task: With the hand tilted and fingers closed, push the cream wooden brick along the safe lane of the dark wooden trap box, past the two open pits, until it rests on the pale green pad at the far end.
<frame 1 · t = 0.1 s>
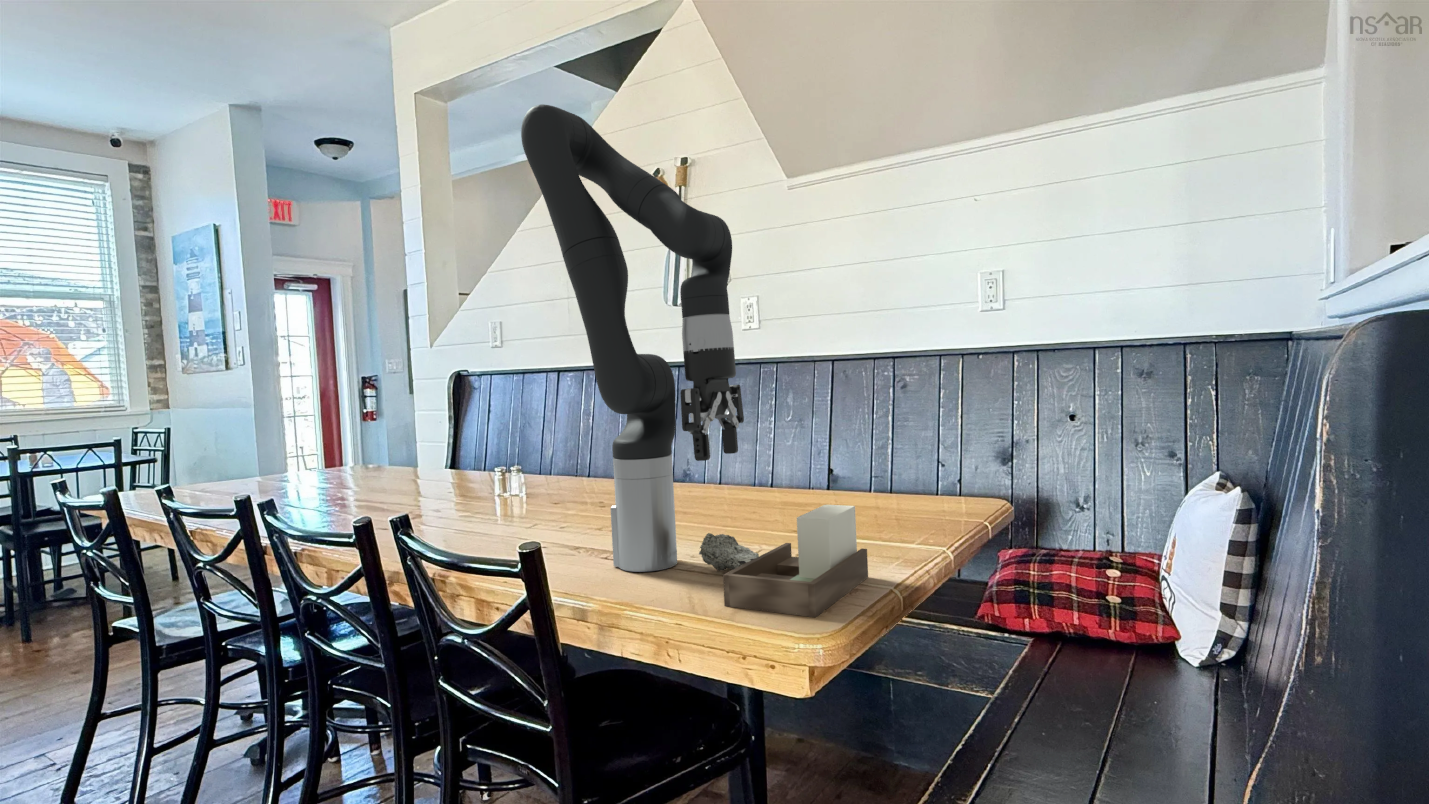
hand: (717, 456, 114), 17 cm above the table, tool pointing down, fingers open, 8 cm apart
rock sample: (738, 570, 117), on the table
brick: (829, 569, 106), point 2 cm above the table, touching trap box
trap box: (799, 590, 103), on the table
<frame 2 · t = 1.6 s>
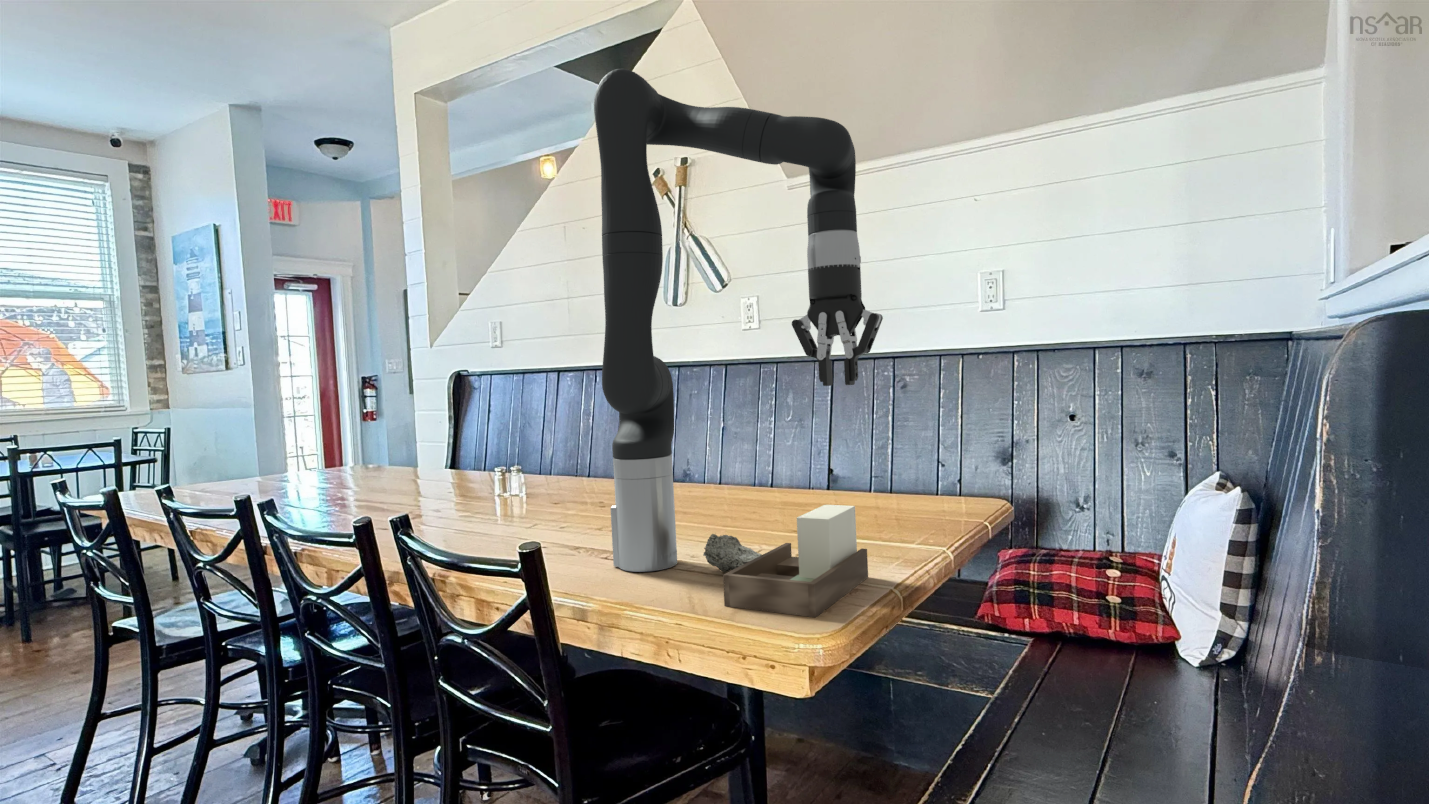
hand: (839, 384, 112), 27 cm above the table, tool pointing down, fingers open, 3 cm apart
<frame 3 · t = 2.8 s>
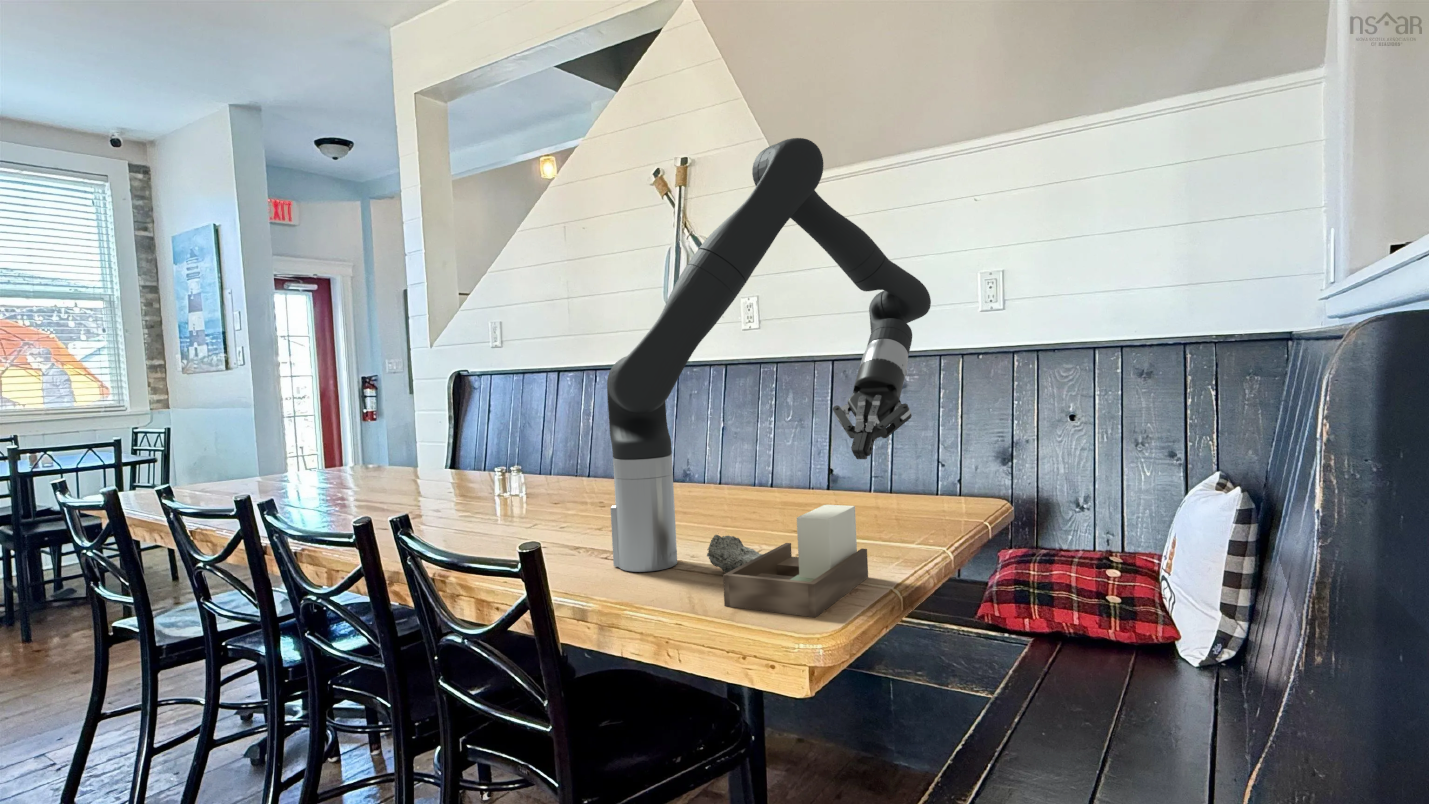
hand: (860, 456, 117), 16 cm above the table, tool tilted 45°, fingers closed
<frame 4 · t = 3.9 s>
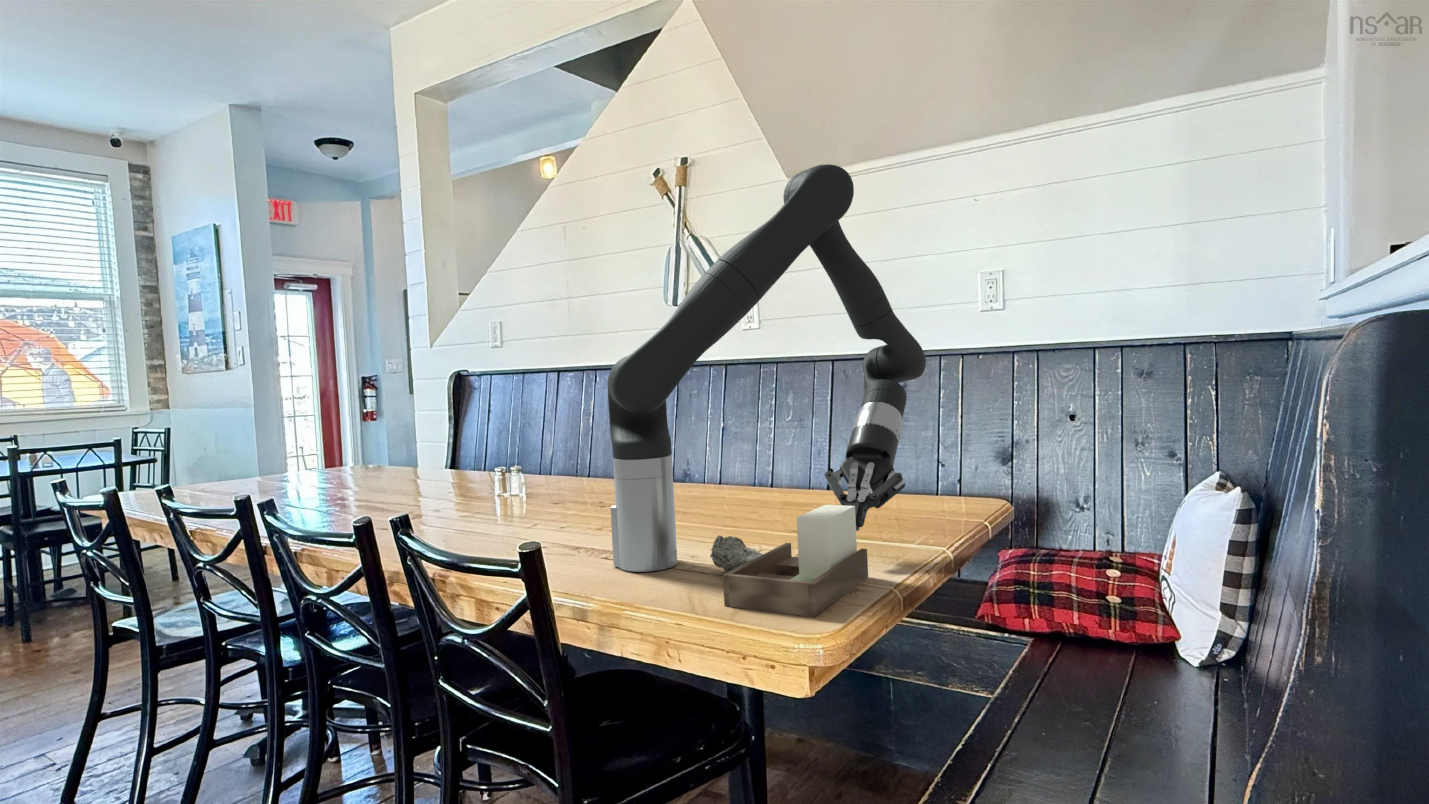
hand: (852, 527, 114), 6 cm above the table, tool tilted 45°, fingers closed
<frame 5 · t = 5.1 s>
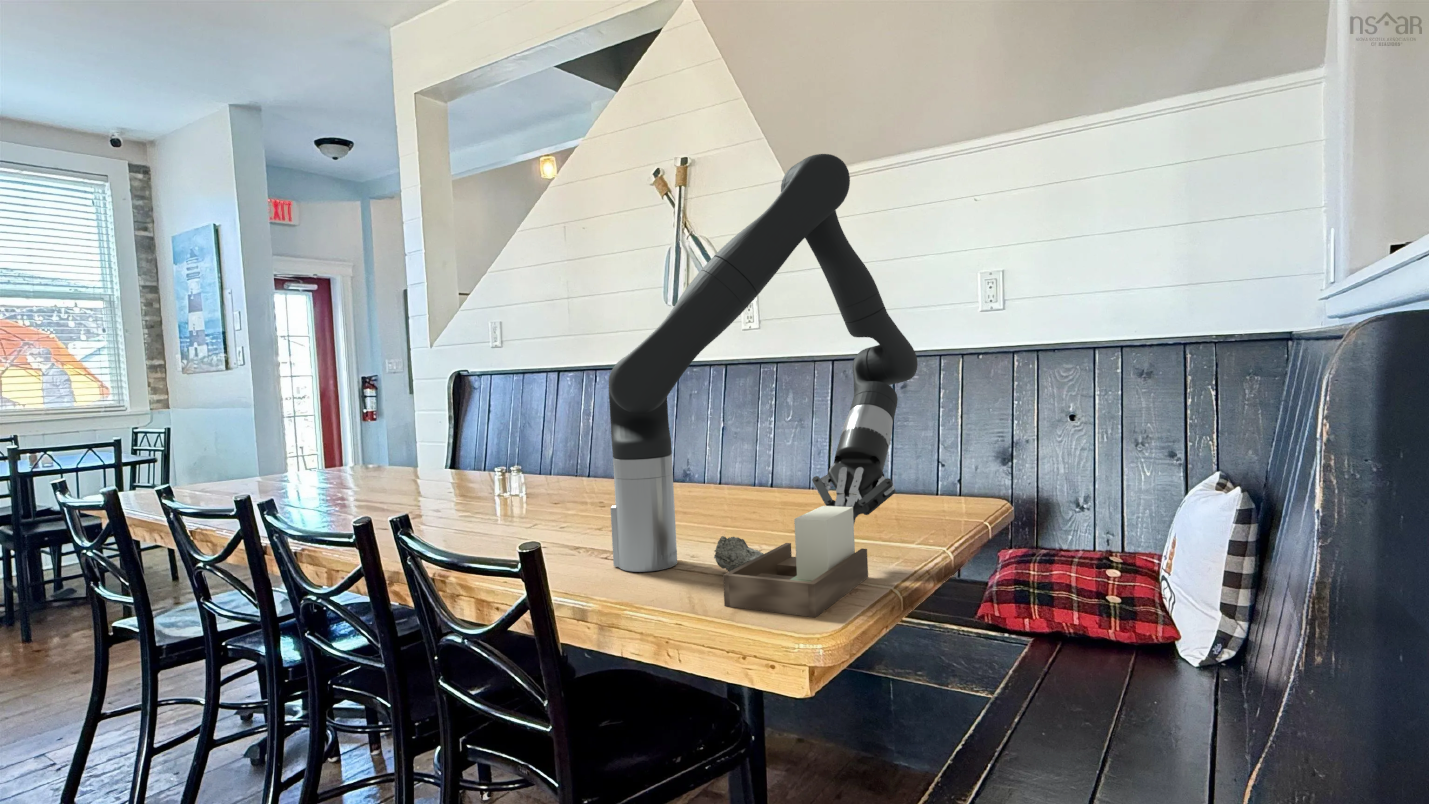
hand: (840, 535, 110), 6 cm above the table, tool tilted 45°, fingers closed
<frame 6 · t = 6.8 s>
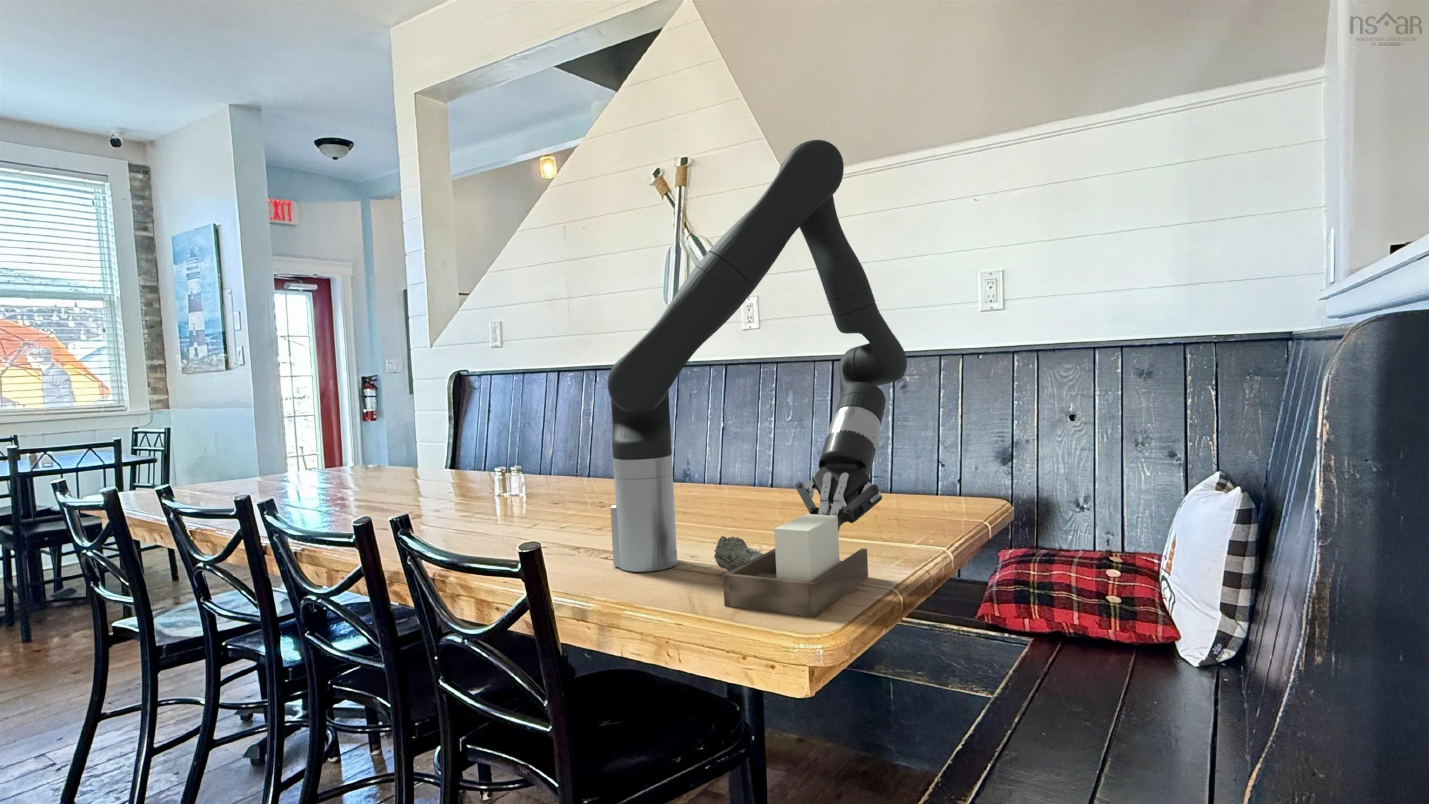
hand: (823, 544, 104), 6 cm above the table, tool tilted 45°, fingers closed
brick: (809, 583, 99), point 2 cm above the table, touching gripper, trap box
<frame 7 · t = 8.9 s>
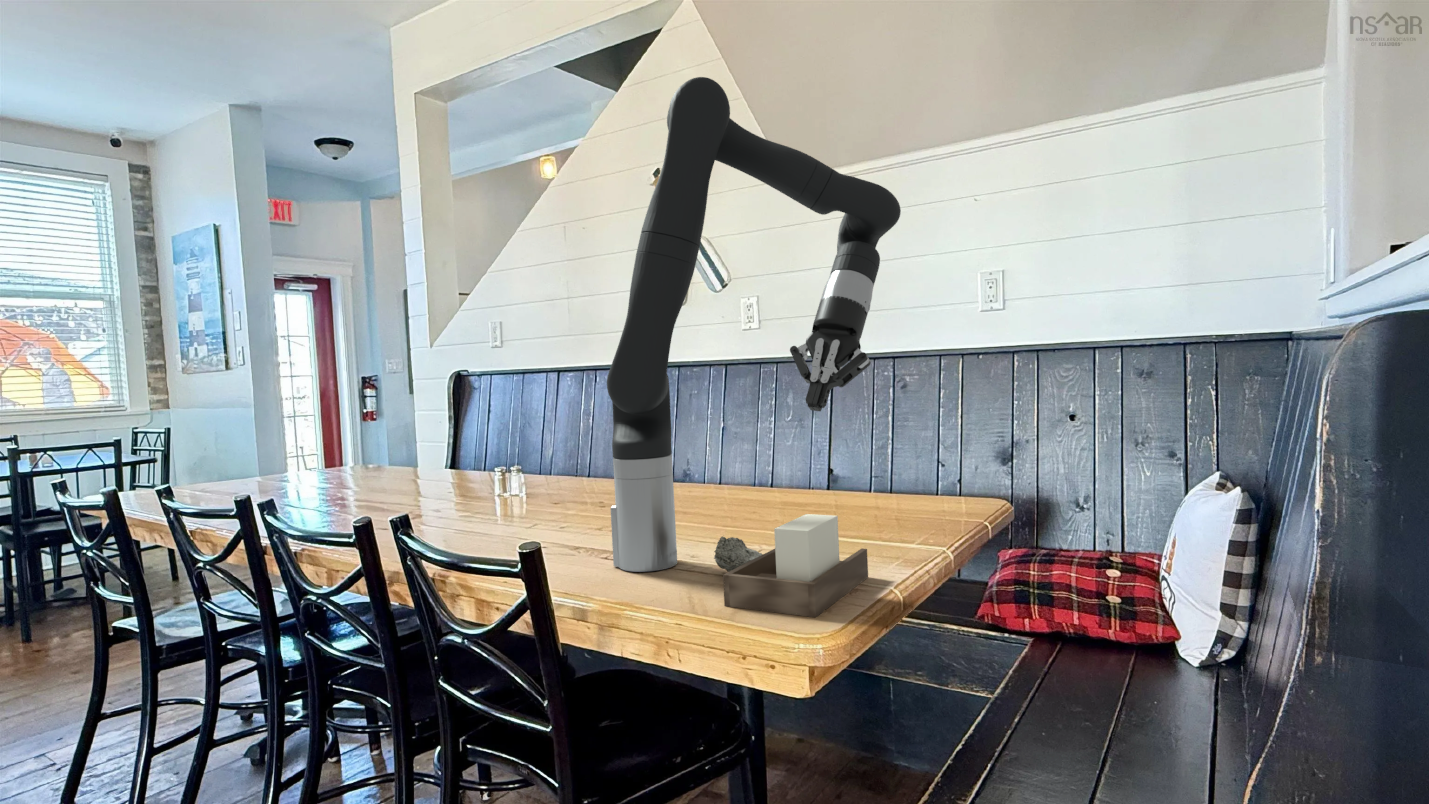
hand: (814, 408, 114), 24 cm above the table, tool tilted 30°, fingers closed
brick: (809, 583, 99), point 2 cm above the table, touching trap box
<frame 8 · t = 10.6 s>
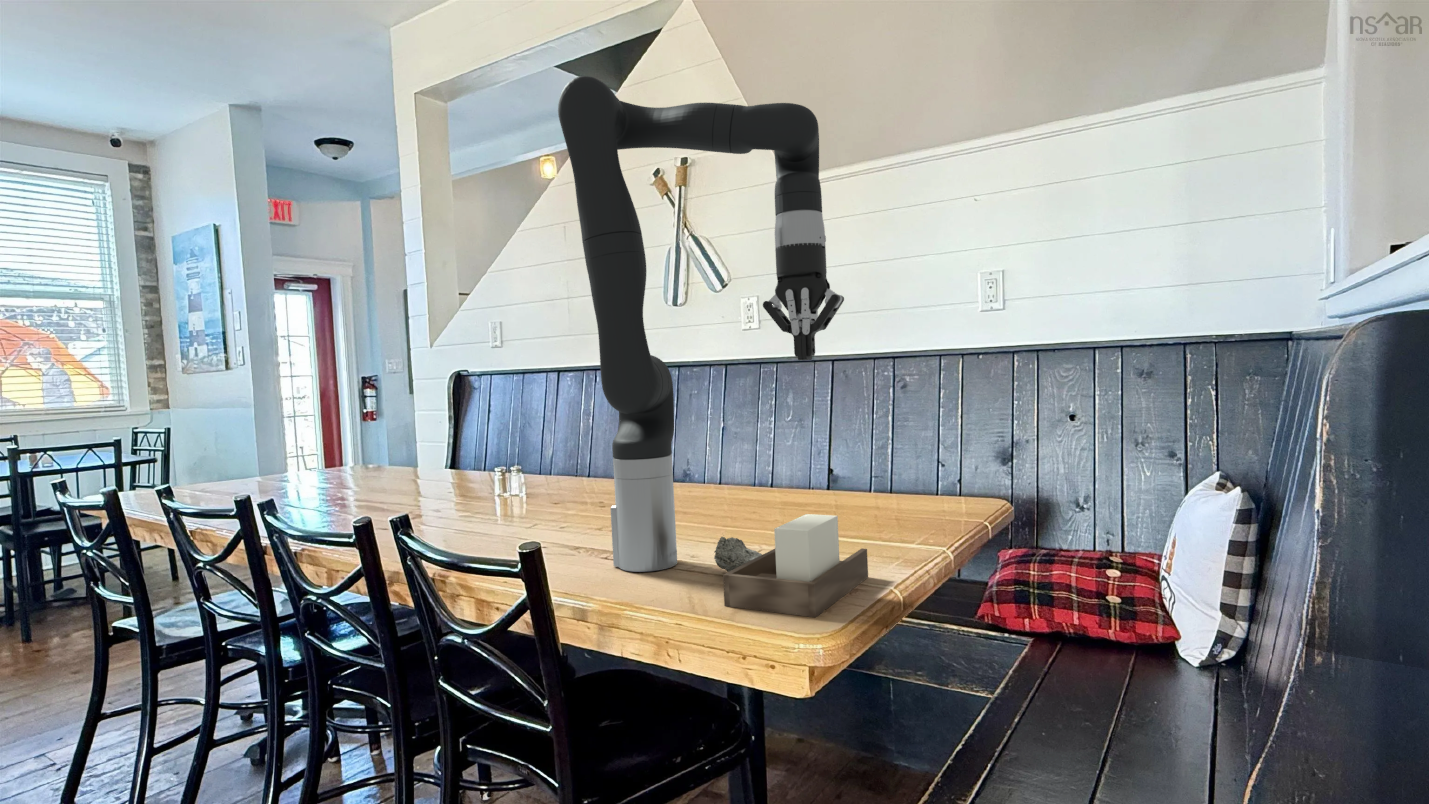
hand: (805, 360, 117), 31 cm above the table, tool pointing down, fingers closed
at the end: brick 0.4 cm from the target spot on the trap box, point 2.0 cm above the trap box's base; brick tilted 0°; brick moved 7.4 cm from its start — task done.
